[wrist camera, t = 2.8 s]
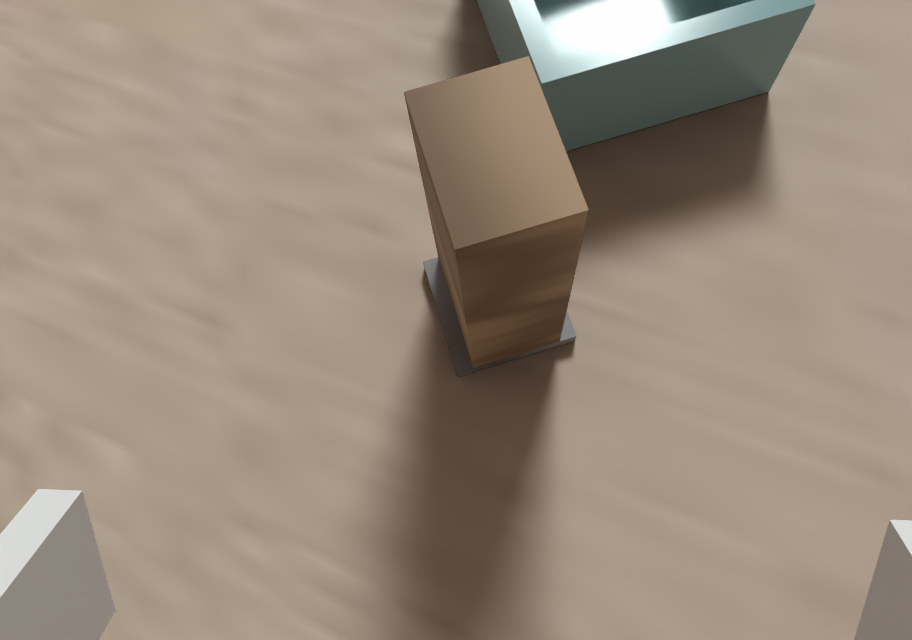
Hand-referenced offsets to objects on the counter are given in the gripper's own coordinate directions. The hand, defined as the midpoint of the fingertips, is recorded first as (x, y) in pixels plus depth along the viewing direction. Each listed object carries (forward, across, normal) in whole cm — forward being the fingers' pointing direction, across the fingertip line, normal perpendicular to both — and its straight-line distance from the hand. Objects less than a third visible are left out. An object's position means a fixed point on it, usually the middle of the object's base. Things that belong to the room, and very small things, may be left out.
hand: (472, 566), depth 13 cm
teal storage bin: (+25, -4, -6) cm, 26 cm away
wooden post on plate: (+16, 0, +3) cm, 17 cm away
